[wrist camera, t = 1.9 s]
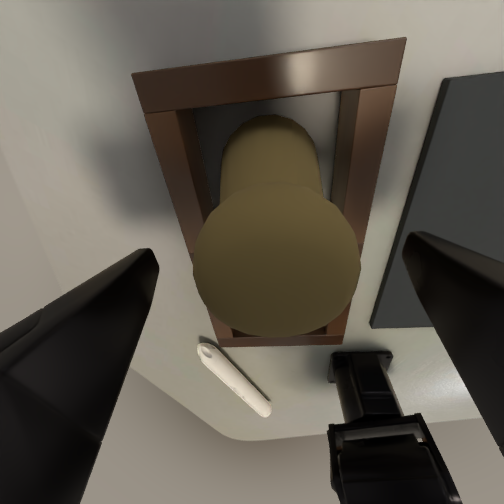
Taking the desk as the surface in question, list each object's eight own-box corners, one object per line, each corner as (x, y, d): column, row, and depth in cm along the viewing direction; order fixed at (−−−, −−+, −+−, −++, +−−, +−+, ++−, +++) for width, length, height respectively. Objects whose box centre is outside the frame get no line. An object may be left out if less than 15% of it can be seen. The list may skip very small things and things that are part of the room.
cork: (271, 227, 18) (279, 381, 9) (202, 173, 16) (125, 310, 7) (338, 163, 15) (443, 301, 6) (265, 87, 13) (270, 135, 4)
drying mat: (523, 318, 23) (529, 324, 23) (369, 323, 24) (371, 328, 24) (774, 40, 11) (797, 38, 11) (443, 78, 12) (450, 79, 12)
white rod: (192, 337, 27) (187, 357, 25) (208, 333, 26) (204, 353, 24) (258, 402, 37) (258, 420, 35) (271, 400, 36) (272, 419, 34)
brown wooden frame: (334, 316, 24) (342, 344, 21) (223, 320, 25) (219, 347, 22) (378, 42, 12) (408, 36, 9) (155, 71, 13) (130, 73, 10)
